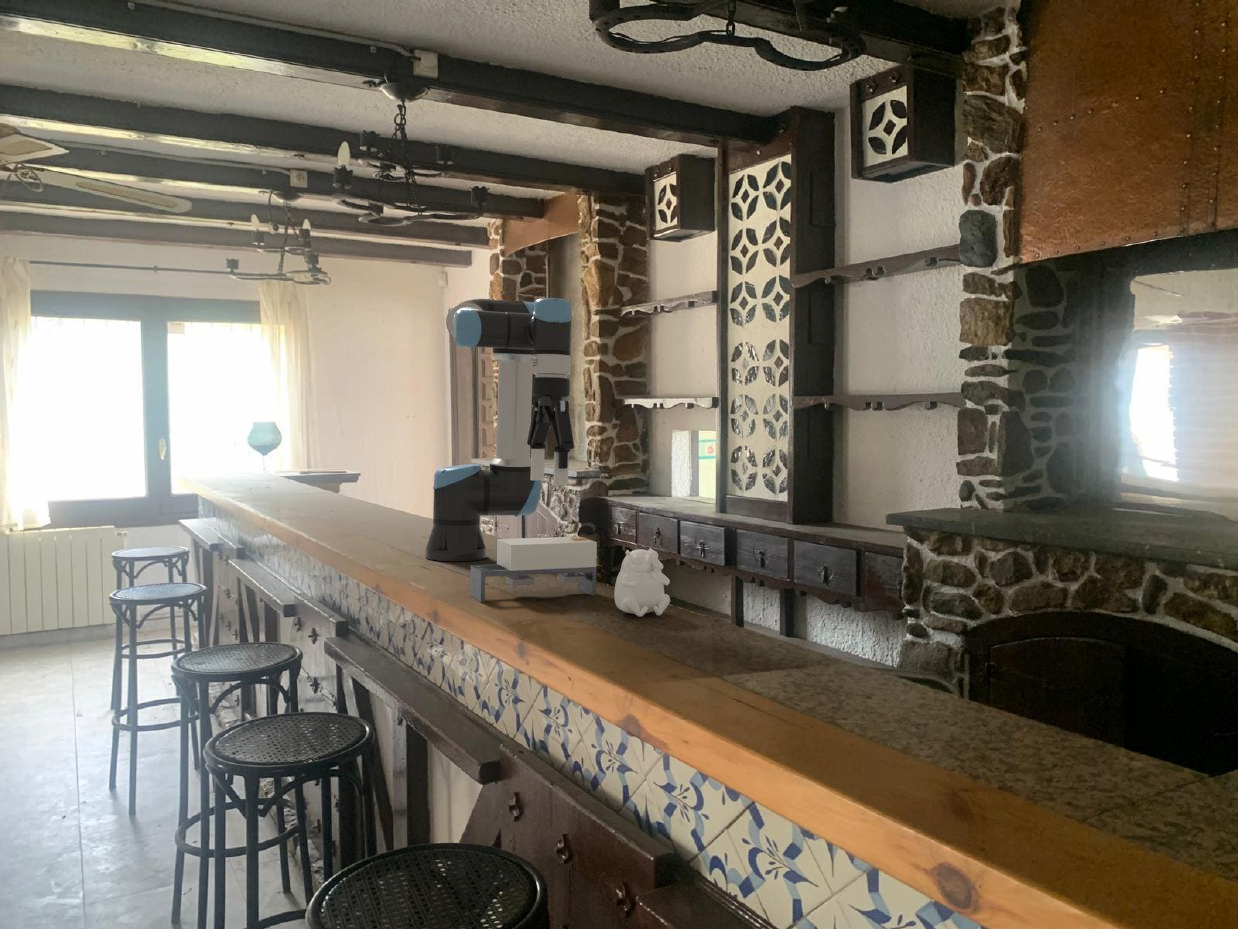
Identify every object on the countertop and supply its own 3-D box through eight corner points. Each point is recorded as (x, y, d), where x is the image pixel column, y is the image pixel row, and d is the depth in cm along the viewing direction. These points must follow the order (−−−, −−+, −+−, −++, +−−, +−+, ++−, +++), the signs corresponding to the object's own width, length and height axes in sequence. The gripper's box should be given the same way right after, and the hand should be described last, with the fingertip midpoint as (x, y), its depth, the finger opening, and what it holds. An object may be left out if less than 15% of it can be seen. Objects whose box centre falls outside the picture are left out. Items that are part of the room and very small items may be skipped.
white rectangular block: (496, 580, 187) (497, 537, 187) (578, 576, 195) (579, 535, 194) (510, 588, 179) (511, 543, 179) (595, 583, 187) (596, 540, 186)
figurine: (604, 610, 174) (606, 546, 173) (650, 607, 178) (652, 544, 177) (627, 621, 165) (628, 554, 164) (675, 617, 169) (677, 552, 168)
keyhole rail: (469, 595, 184) (470, 565, 184) (581, 589, 194) (582, 560, 194) (480, 602, 178) (481, 571, 177) (595, 595, 188) (596, 566, 187)
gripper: (513, 377, 195) (511, 478, 196) (555, 374, 172) (552, 487, 173) (547, 379, 198) (544, 478, 199) (592, 375, 175) (589, 487, 176)
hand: (548, 483), depth 186 cm, fingers open, 13 cm apart
